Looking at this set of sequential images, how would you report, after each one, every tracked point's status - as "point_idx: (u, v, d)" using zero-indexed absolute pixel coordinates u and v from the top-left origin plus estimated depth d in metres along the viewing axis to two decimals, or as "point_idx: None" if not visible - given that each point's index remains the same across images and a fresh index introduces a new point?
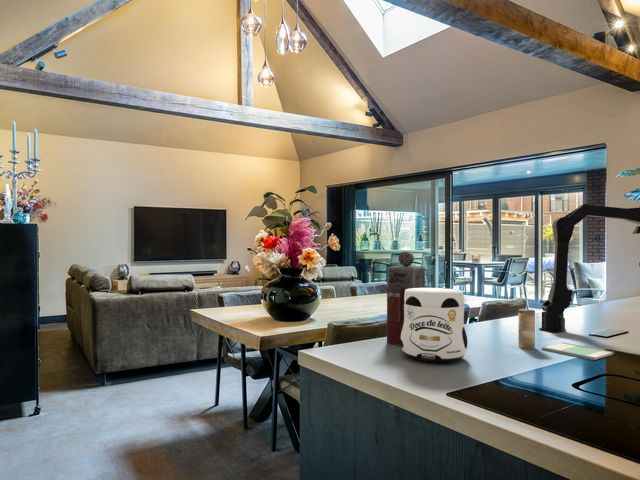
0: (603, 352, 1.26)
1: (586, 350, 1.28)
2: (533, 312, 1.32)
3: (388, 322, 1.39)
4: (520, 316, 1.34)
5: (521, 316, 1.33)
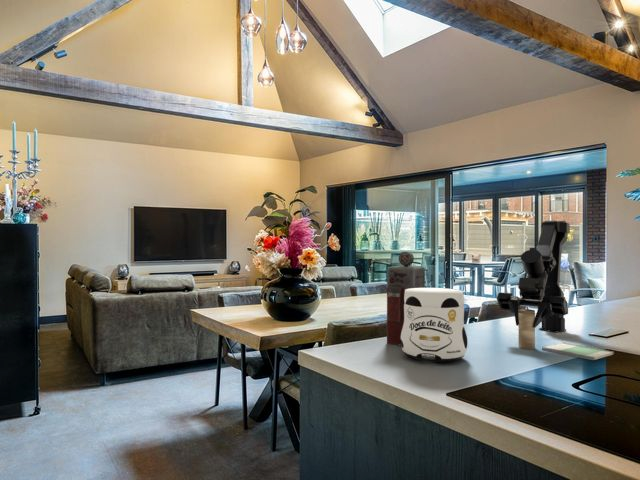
0: (603, 352, 1.26)
1: (586, 350, 1.28)
2: (533, 312, 1.32)
3: (388, 322, 1.39)
4: (520, 316, 1.34)
5: (521, 316, 1.33)
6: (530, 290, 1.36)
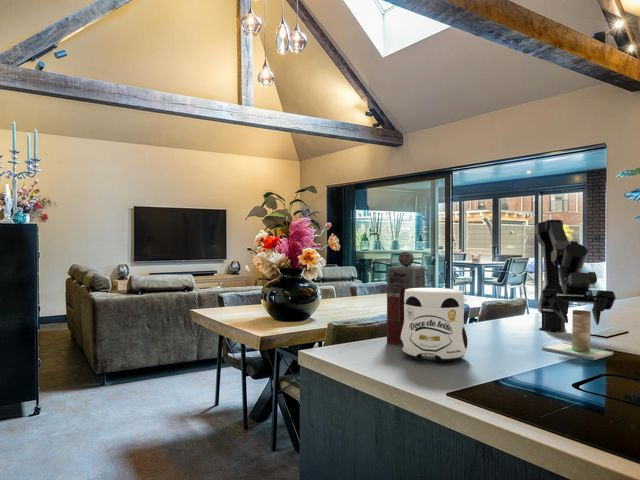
0: (603, 352, 1.26)
1: None
2: (590, 313, 1.27)
3: (388, 322, 1.39)
4: (578, 318, 1.27)
5: (579, 318, 1.27)
6: (580, 285, 1.30)
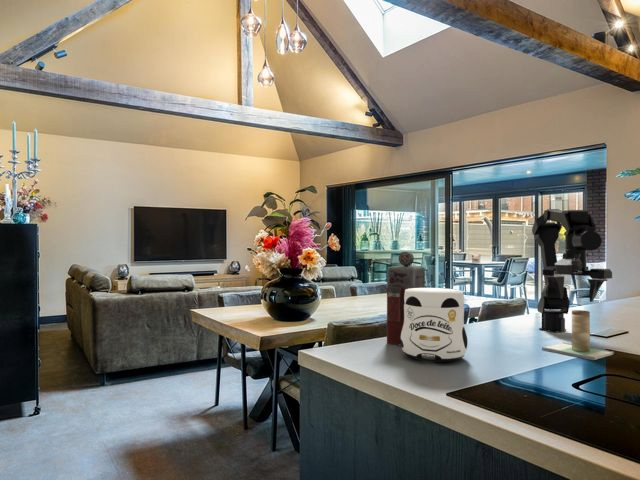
0: (603, 352, 1.26)
1: None
2: (589, 313, 1.27)
3: (388, 322, 1.39)
4: (577, 318, 1.27)
5: (578, 318, 1.27)
6: None
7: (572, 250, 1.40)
